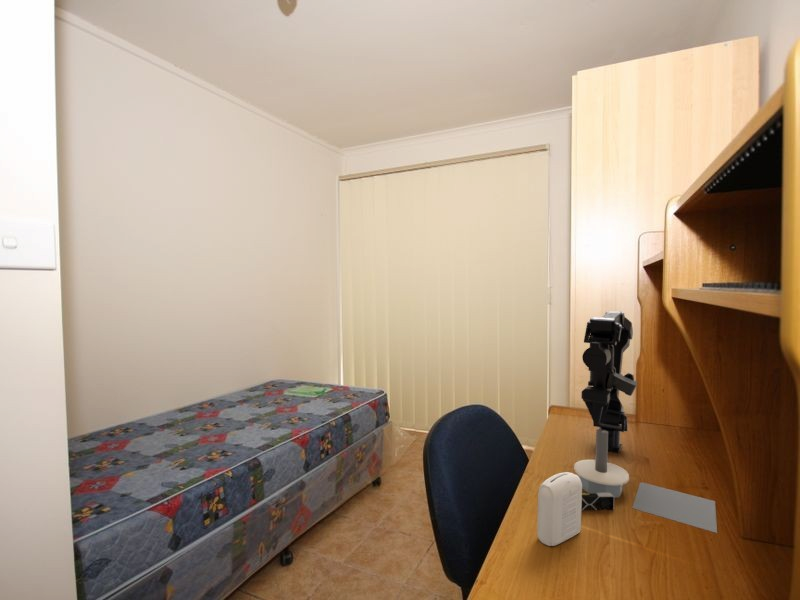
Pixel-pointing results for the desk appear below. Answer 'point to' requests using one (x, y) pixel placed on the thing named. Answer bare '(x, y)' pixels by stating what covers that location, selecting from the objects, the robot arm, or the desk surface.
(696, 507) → the mat
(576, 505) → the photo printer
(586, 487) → the bowl
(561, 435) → the desk surface
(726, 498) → the desk surface
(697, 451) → the desk surface
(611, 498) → the graphics card
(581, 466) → the lid
